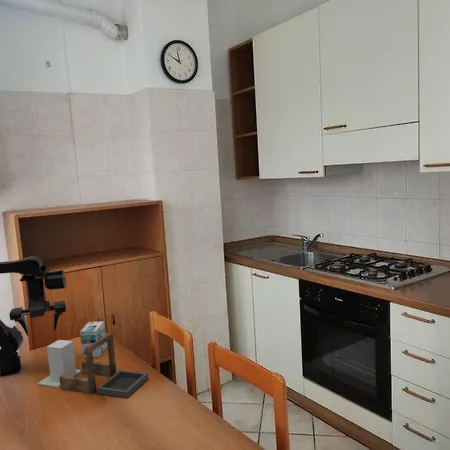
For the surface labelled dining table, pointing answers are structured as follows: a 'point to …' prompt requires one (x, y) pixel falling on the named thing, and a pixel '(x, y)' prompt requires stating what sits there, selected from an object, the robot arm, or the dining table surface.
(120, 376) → the box
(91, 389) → the wooden gate frame
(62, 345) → the block
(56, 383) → the pad
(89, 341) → the light bulb box
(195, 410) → the dining table surface
